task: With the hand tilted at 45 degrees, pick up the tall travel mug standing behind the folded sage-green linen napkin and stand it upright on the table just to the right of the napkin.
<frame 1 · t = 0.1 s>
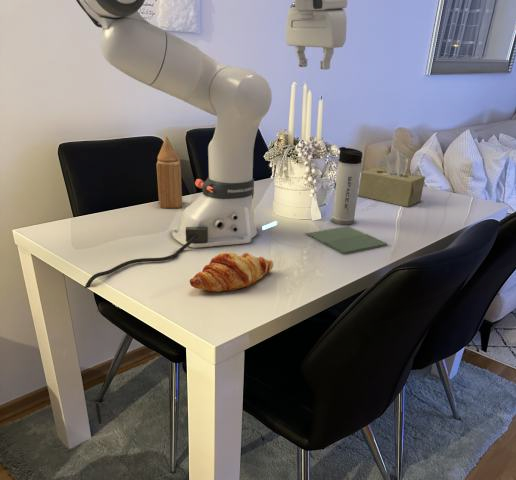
hand: (313, 68, 125), 39 cm above the table, tool pointing down, fingers open, 8 cm apart
condiment: (342, 186, 182), on the table
travel mug: (342, 222, 146), on the table
croissant: (234, 283, 108), on the table
decorative item: (171, 205, 155), on the table
napkin: (346, 239, 133), on the table
tissue box: (388, 199, 169), on the table
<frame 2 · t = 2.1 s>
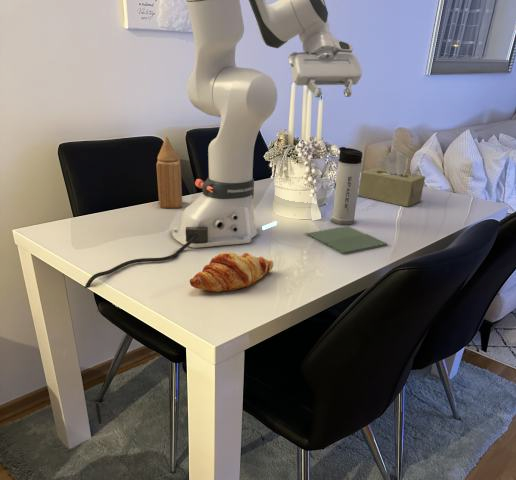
hand: (333, 95, 139), 32 cm above the table, tool tilted 45°, fingers open, 8 cm apart
nothing on the table moved.
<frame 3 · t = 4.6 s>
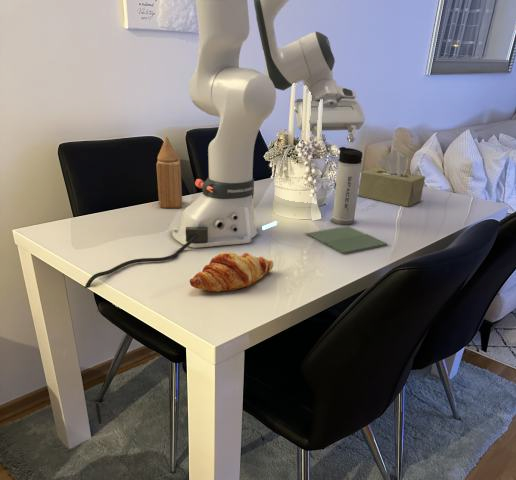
hand: (337, 141, 141), 21 cm above the table, tool tilted 45°, fingers open, 8 cm apart
nothing on the table moved.
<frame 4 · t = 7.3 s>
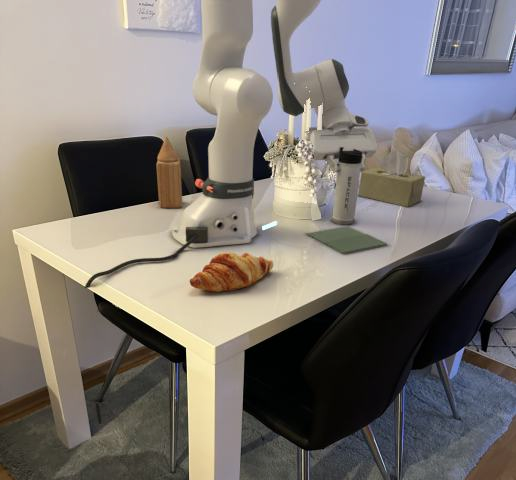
hand: (349, 170, 138), 14 cm above the table, tool tilted 45°, fingers closed on travel mug, 6 cm apart
travel mug: (342, 221, 146), on the table, touching gripper
everything else where it was.
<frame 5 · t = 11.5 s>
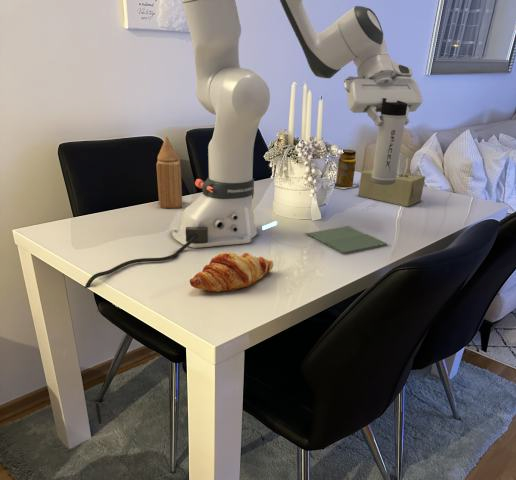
hand: (393, 124, 127), 27 cm above the table, tool tilted 45°, fingers closed on travel mug, 6 cm apart
travel mug: (382, 182, 135), point 13 cm above the table, touching gripper
everything else where it was.
when the fingers open (14 cm above the table, at t = 16.0 s): travel mug stays where it is, on the table.
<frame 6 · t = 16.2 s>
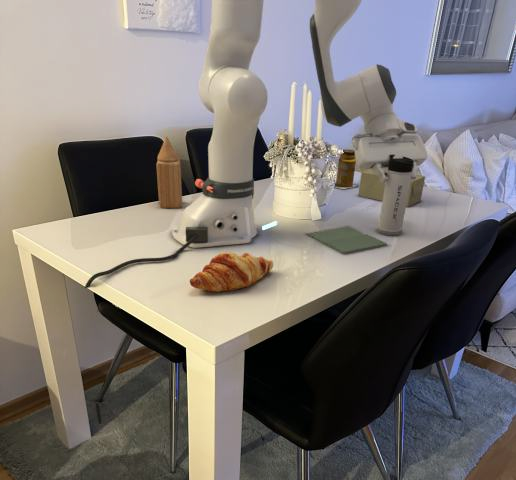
hand: (399, 180, 132), 14 cm above the table, tool tilted 45°, fingers open, 7 cm apart
travel mug: (388, 232, 140), on the table
everything else where it was.
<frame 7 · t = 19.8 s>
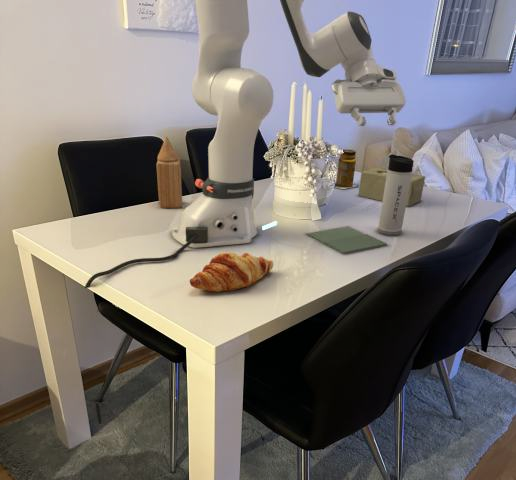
hand: (377, 124, 136), 26 cm above the table, tool tilted 45°, fingers open, 8 cm apart
nothing on the table moved.
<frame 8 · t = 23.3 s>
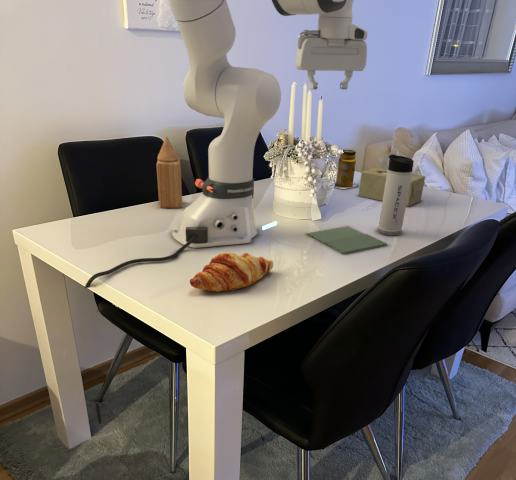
hand: (328, 89, 141), 33 cm above the table, tool pointing down, fingers open, 8 cm apart
nothing on the table moved.
at the end: travel mug inside the target area on the table beside the napkin (0.5 cm from its centre), on the table; travel mug tilted 0°; the gripper is holding nothing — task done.
